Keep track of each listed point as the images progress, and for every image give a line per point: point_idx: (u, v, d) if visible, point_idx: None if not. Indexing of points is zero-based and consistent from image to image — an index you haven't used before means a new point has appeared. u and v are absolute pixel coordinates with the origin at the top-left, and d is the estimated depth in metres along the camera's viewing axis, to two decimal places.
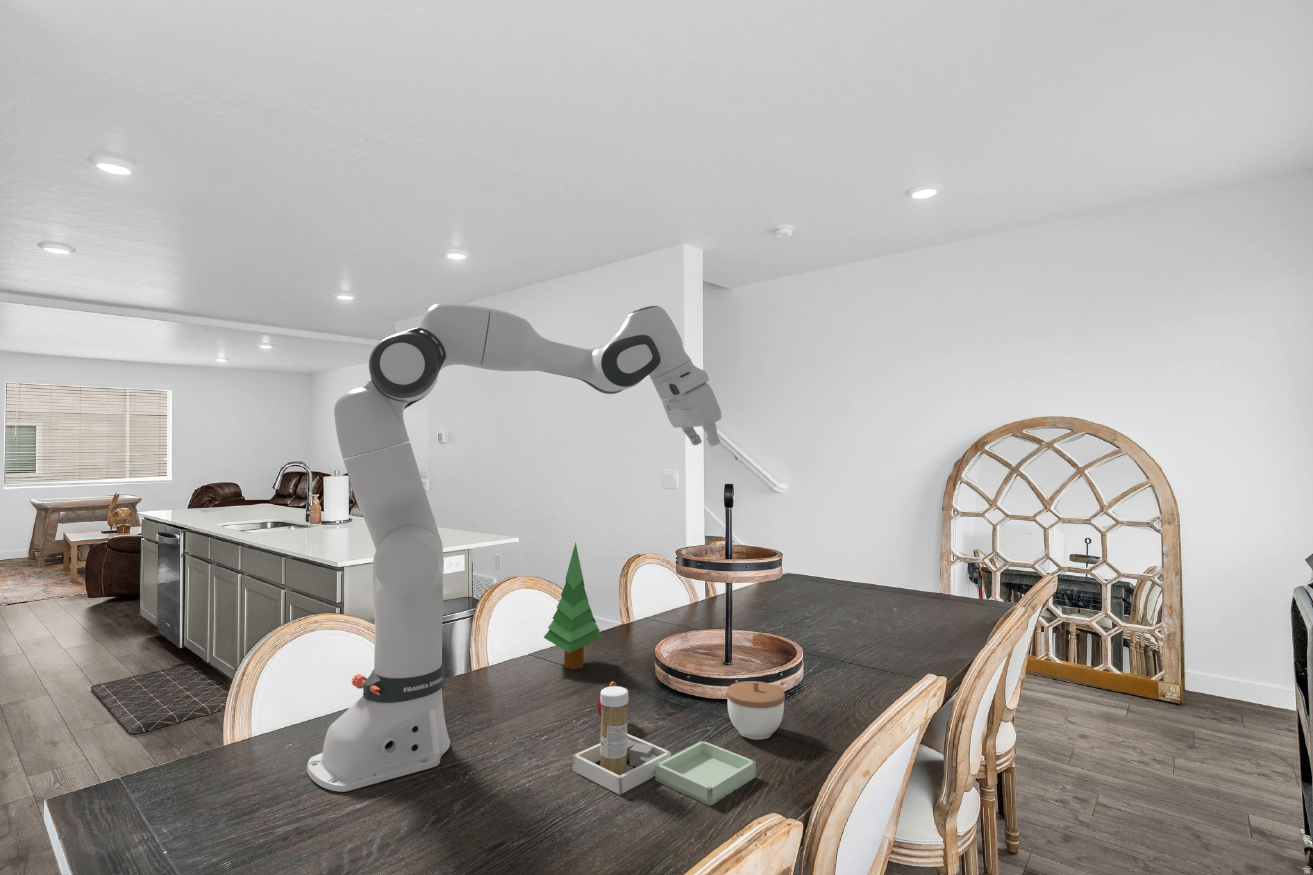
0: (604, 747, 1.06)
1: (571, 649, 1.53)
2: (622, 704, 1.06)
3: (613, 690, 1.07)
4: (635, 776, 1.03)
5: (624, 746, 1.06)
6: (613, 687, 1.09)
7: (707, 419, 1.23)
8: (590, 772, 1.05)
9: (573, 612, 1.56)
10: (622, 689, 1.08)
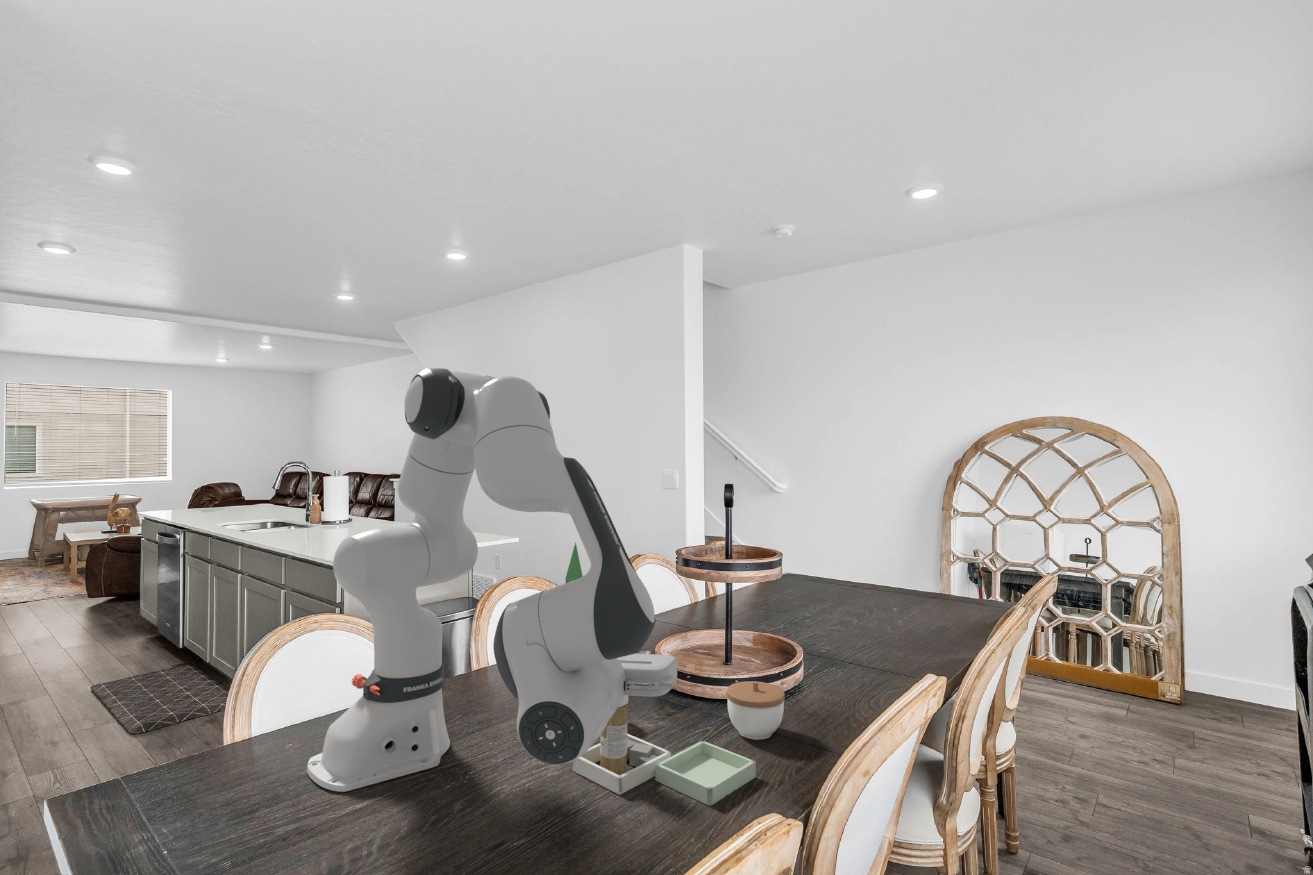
0: (604, 747, 1.06)
1: None
2: (622, 704, 1.06)
3: None
4: (635, 776, 1.03)
5: (624, 746, 1.06)
6: None
7: None
8: (590, 772, 1.05)
9: None
10: None
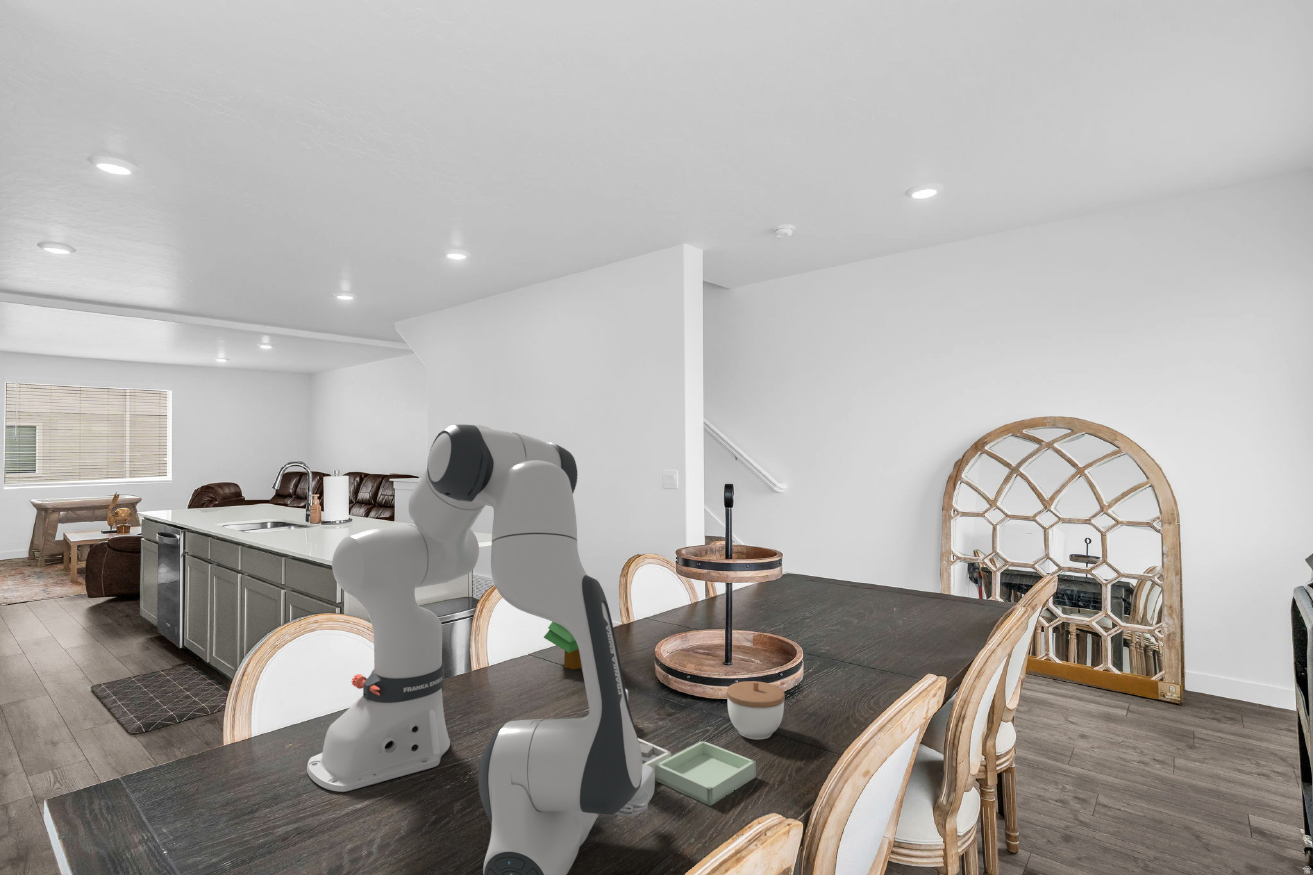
0: None
1: (571, 649, 1.53)
2: None
3: None
4: None
5: None
6: None
7: None
8: None
9: None
10: None
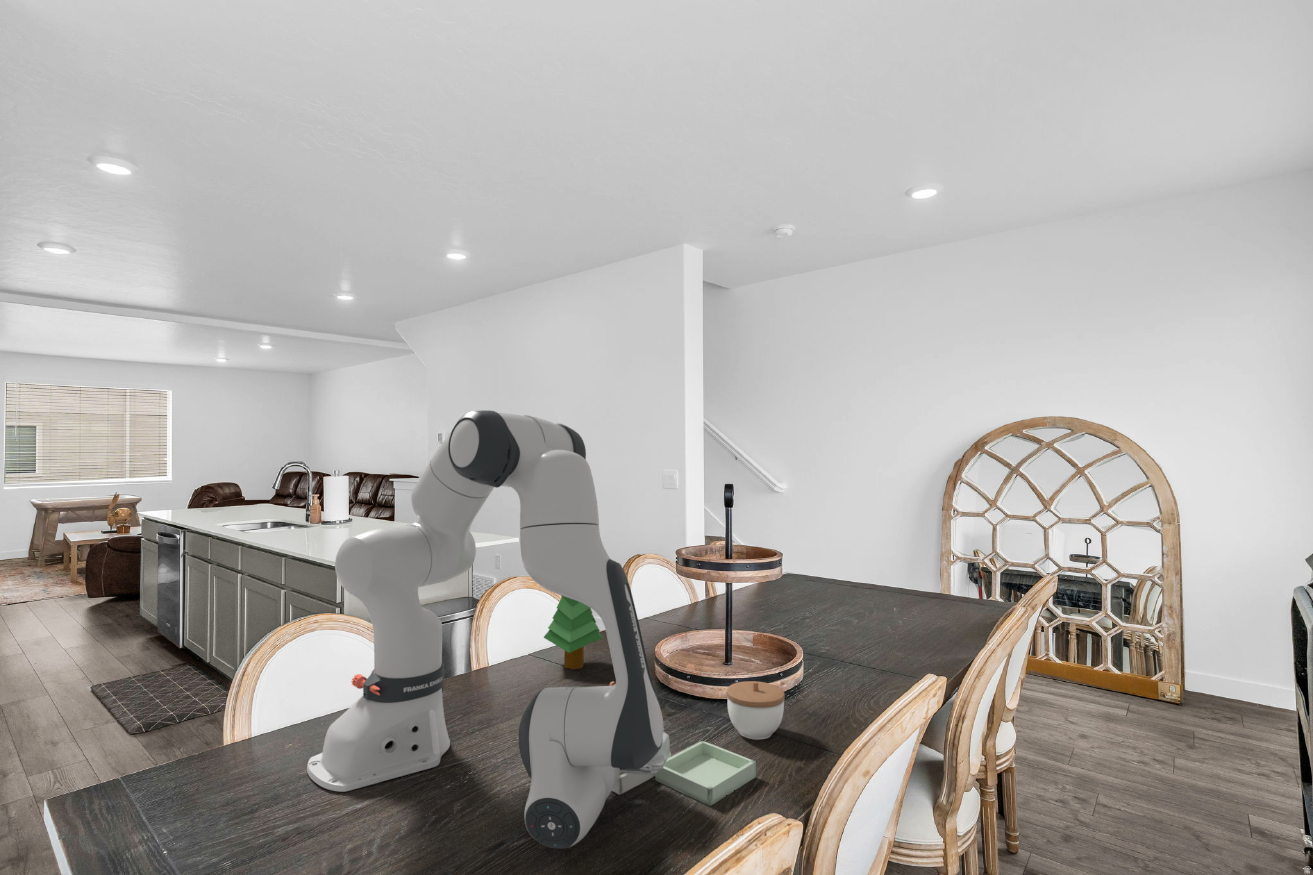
0: None
1: (571, 649, 1.53)
2: None
3: None
4: (635, 776, 1.03)
5: None
6: None
7: None
8: None
9: (573, 612, 1.56)
10: None
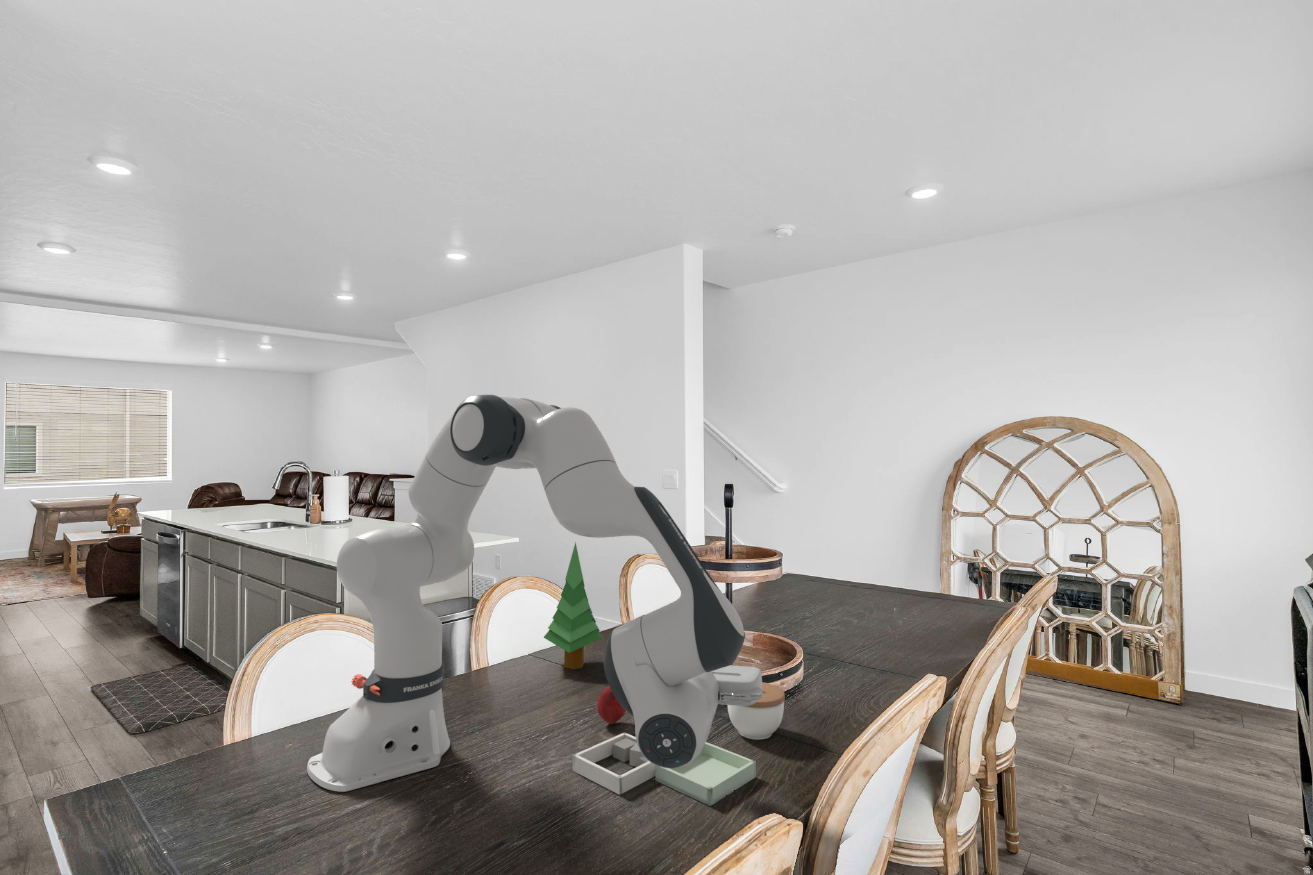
0: None
1: (571, 649, 1.53)
2: None
3: None
4: (635, 776, 1.03)
5: None
6: None
7: None
8: (590, 772, 1.05)
9: (573, 612, 1.56)
10: None
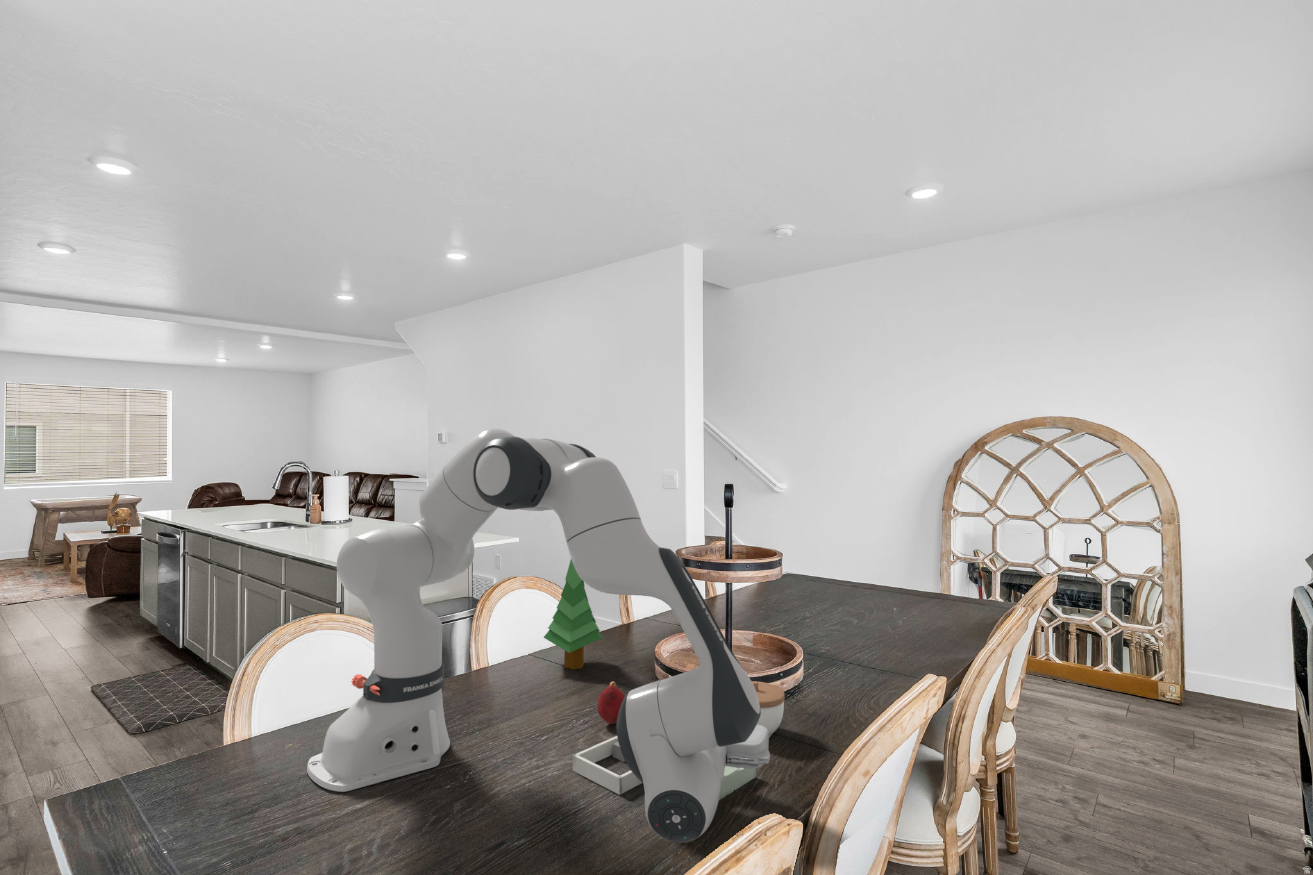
0: None
1: (571, 649, 1.53)
2: None
3: None
4: (635, 776, 1.03)
5: None
6: None
7: None
8: (590, 772, 1.05)
9: (573, 612, 1.56)
10: None
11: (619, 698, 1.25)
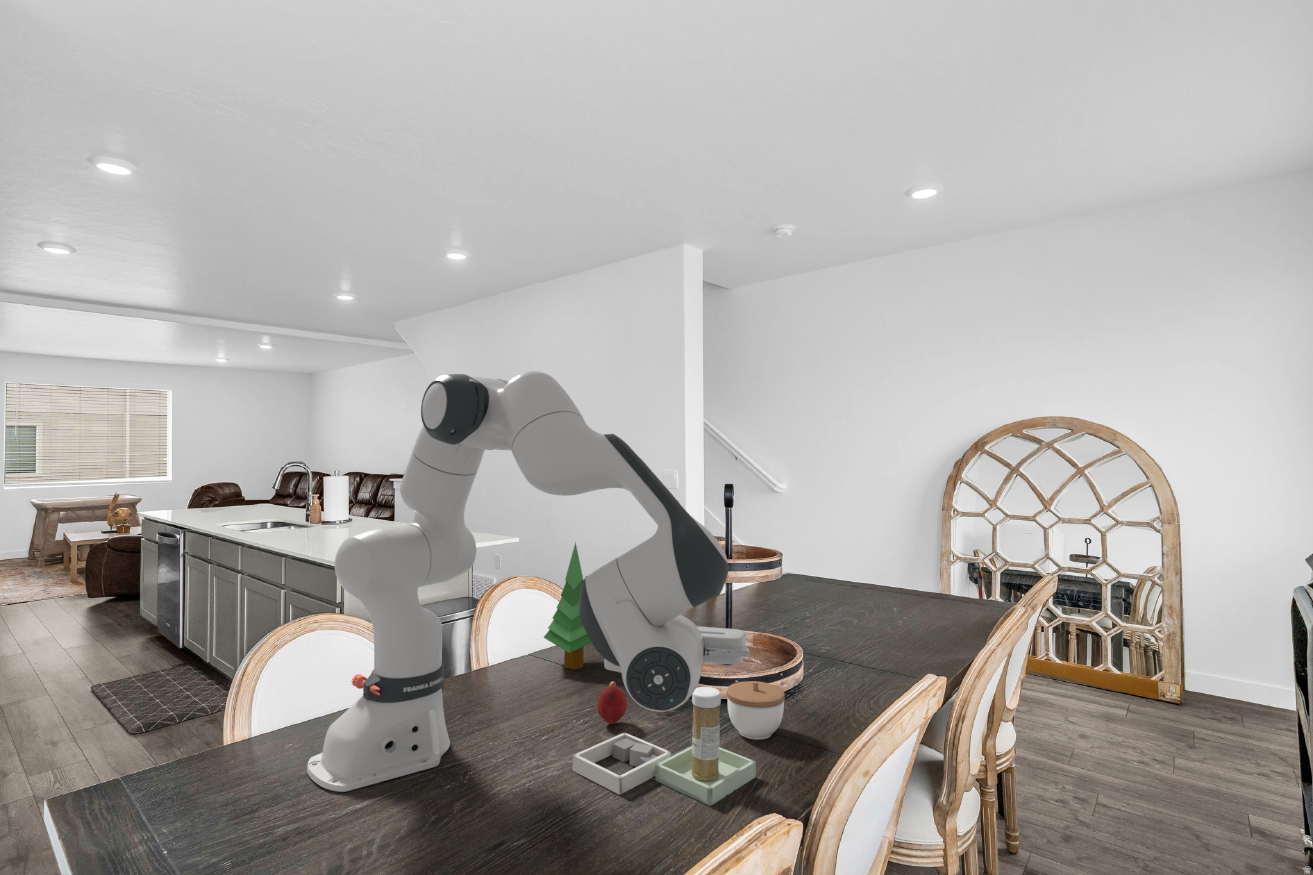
0: (697, 748, 1.04)
1: (571, 649, 1.53)
2: (716, 705, 1.04)
3: (705, 691, 1.06)
4: (635, 776, 1.03)
5: (717, 748, 1.05)
6: (704, 688, 1.07)
7: None
8: (590, 772, 1.05)
9: (573, 612, 1.56)
10: (714, 690, 1.06)
11: (618, 698, 1.25)
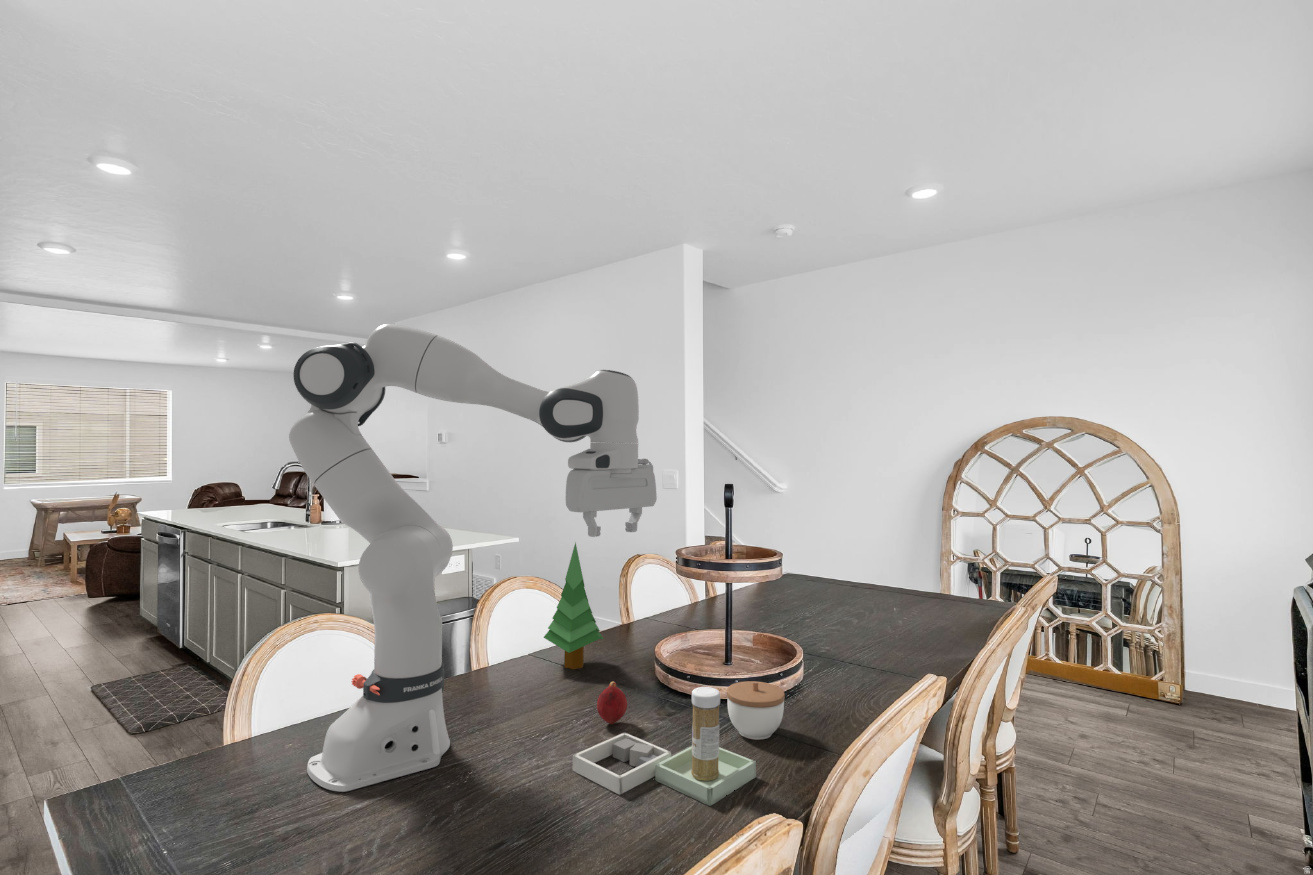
0: (697, 748, 1.04)
1: (571, 649, 1.53)
2: (715, 705, 1.04)
3: (704, 691, 1.06)
4: (635, 776, 1.03)
5: (717, 747, 1.05)
6: (703, 688, 1.07)
7: (566, 503, 1.15)
8: (590, 772, 1.05)
9: (573, 612, 1.56)
10: (713, 690, 1.06)
11: (619, 698, 1.25)
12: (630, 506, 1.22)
